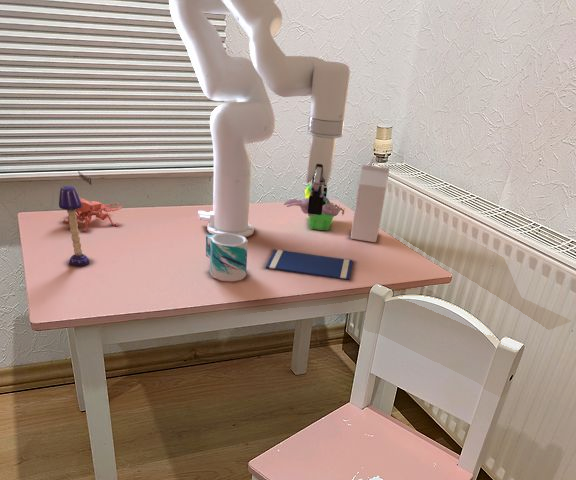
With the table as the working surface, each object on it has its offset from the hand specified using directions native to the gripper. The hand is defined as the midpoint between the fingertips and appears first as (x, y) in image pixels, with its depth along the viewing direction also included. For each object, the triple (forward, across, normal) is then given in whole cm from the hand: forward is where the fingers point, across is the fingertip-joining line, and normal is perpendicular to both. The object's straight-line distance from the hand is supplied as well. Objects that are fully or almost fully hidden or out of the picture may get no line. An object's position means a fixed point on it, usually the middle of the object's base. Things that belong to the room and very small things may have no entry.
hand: (316, 208), depth 134 cm
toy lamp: (+14, +19, -51) cm, 56 cm away
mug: (+14, +12, -19) cm, 26 cm away
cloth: (+14, +1, 0) cm, 14 cm away
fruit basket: (+14, -30, -2) cm, 33 cm away
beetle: (+14, -7, -59) cm, 61 cm away
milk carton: (+14, -25, +12) cm, 31 cm away
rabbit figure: (+2, +1, 0) cm, 2 cm away
